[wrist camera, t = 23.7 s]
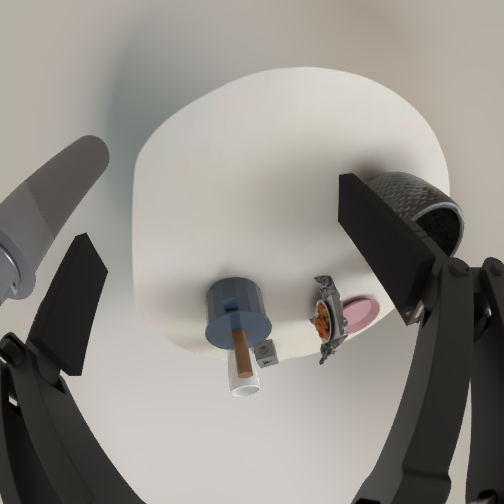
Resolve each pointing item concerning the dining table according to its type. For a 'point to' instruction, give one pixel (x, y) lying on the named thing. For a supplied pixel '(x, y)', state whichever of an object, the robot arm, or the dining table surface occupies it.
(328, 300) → the meal
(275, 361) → the dice cube
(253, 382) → the drinking glass
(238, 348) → the lid
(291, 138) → the dining table surface
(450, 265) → the robot arm
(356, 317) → the plate
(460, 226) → the planter
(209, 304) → the pot
